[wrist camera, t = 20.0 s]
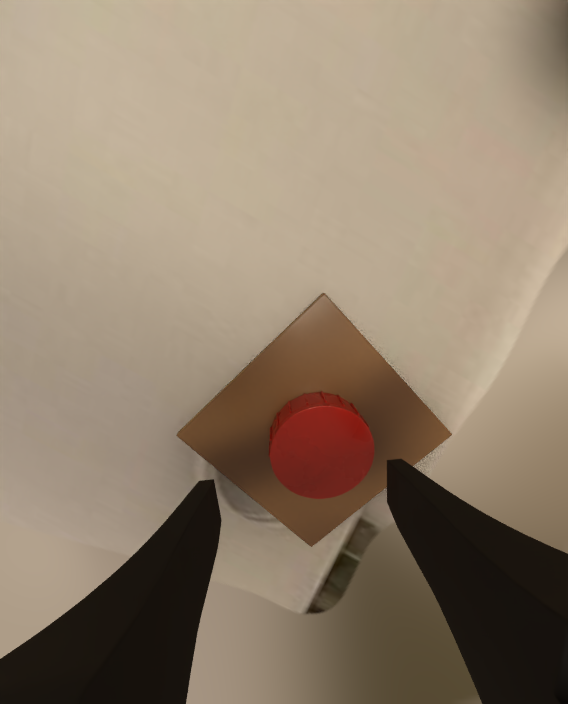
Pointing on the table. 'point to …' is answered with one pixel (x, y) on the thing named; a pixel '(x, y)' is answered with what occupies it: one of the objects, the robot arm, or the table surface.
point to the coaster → (307, 377)
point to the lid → (320, 446)
